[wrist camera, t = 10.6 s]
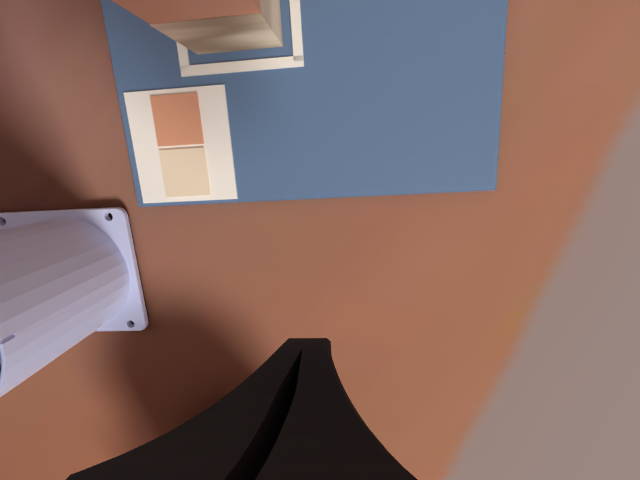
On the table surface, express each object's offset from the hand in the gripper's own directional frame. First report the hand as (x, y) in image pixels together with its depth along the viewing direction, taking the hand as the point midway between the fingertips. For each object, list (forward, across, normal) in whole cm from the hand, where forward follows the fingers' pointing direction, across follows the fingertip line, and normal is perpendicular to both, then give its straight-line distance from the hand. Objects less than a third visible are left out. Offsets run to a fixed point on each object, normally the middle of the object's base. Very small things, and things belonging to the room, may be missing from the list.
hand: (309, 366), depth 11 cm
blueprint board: (+10, +1, -11) cm, 15 cm away
